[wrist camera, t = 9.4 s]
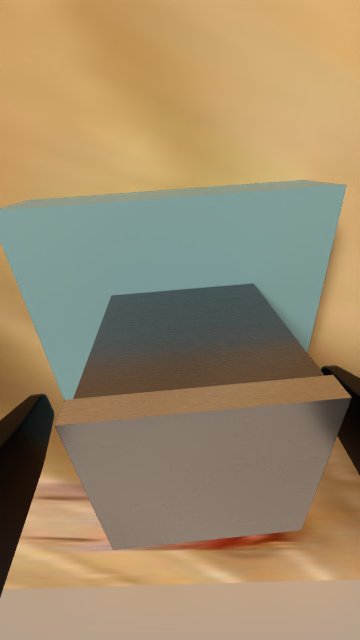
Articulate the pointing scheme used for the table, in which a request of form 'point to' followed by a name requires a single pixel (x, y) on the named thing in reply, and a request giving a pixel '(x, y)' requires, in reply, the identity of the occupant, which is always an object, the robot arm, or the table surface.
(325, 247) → the teal box
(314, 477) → the tin
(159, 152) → the table surface
